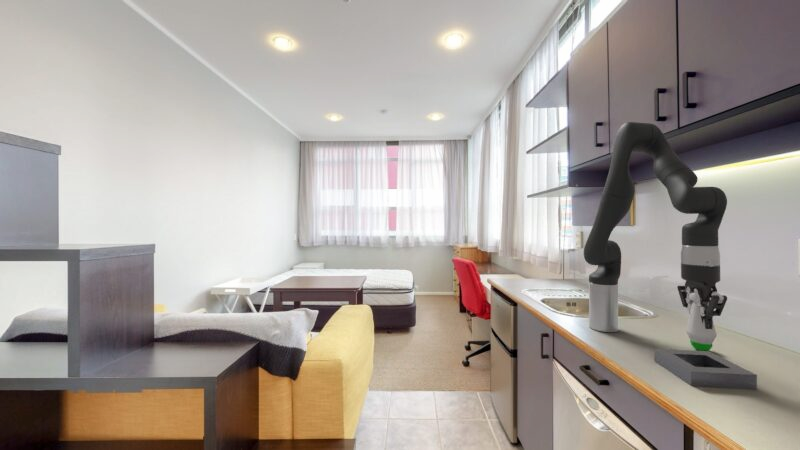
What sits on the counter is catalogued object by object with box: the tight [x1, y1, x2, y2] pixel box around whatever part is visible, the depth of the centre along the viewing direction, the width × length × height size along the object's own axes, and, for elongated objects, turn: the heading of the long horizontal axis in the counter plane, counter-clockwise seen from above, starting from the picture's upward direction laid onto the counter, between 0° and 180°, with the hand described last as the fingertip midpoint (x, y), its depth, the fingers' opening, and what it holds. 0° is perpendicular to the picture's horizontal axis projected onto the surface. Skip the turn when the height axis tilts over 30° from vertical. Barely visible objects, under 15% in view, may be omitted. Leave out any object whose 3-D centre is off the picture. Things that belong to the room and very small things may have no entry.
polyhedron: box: [689, 340, 713, 351], centre depth 98 cm, size 5×5×5 cm
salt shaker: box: [685, 292, 717, 345], centre depth 83 cm, size 6×6×13 cm
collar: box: [653, 348, 758, 391], centre depth 84 cm, size 14×14×4 cm
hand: (700, 327), depth 83 cm, fingers closed on salt shaker, 3 cm apart
